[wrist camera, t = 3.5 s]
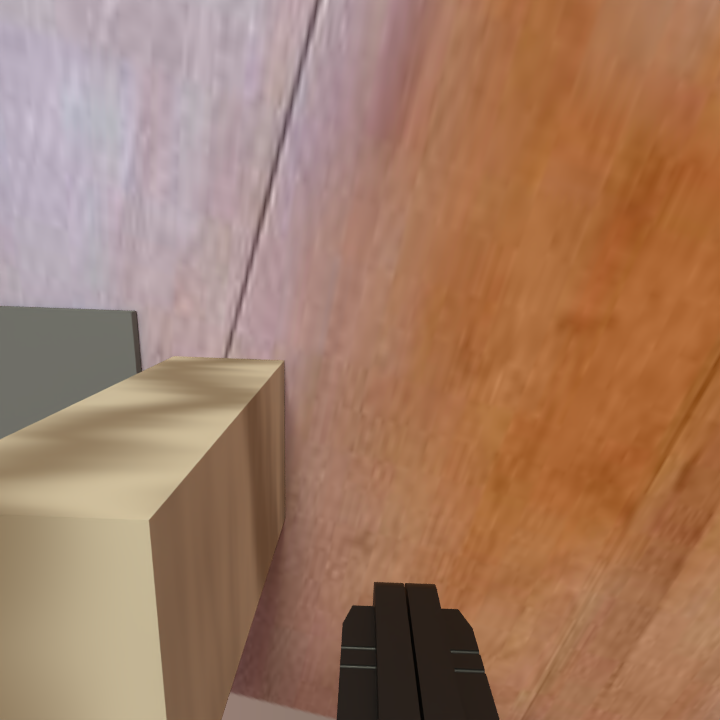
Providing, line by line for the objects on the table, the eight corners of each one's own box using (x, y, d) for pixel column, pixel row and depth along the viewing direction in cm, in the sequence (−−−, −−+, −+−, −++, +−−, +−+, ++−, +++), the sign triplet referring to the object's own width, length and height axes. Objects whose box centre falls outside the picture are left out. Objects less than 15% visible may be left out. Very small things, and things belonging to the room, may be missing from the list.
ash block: (284, 360, 19) (148, 520, 7) (285, 518, 21) (178, 854, 9) (173, 356, 19) (-145, 508, 7) (184, 514, 21) (-56, 844, 9)
